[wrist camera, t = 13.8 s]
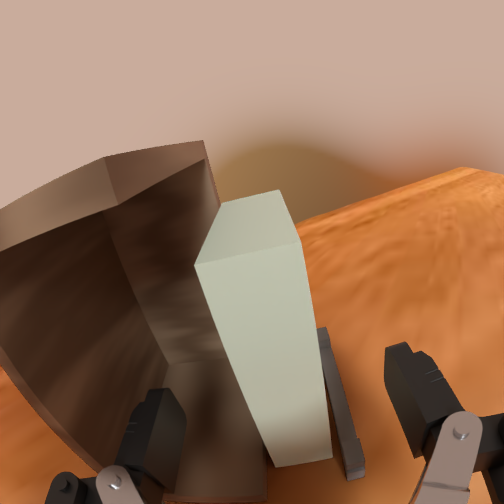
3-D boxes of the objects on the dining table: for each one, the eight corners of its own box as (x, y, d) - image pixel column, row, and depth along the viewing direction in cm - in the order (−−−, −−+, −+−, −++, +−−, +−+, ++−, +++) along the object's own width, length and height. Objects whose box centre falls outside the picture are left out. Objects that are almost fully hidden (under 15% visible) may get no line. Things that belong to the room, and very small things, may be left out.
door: (275, 467, 15) (194, 265, 10) (270, 372, 23) (222, 203, 18) (332, 457, 15) (300, 241, 9) (313, 363, 23) (279, 189, 18)
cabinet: (125, 495, 14) (-58, 248, 7) (165, 366, 27) (87, 180, 20) (365, 483, 12) (347, 92, 6) (326, 339, 25) (285, 120, 19)
